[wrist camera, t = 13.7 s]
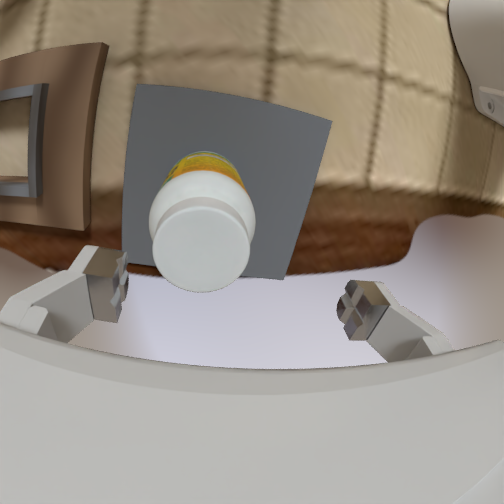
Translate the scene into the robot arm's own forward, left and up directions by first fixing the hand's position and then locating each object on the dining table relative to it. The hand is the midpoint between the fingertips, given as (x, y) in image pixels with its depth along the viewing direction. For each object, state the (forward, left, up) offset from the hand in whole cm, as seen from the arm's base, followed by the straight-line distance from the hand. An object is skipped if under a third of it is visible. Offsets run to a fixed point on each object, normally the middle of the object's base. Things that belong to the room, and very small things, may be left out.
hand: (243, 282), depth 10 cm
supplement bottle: (+1, 0, -12) cm, 12 cm away
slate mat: (0, 0, -12) cm, 12 cm away
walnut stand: (+18, -3, -12) cm, 22 cm away
